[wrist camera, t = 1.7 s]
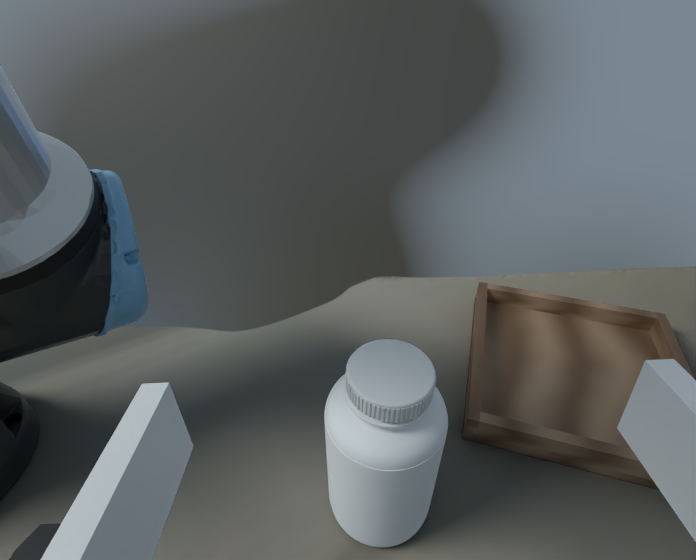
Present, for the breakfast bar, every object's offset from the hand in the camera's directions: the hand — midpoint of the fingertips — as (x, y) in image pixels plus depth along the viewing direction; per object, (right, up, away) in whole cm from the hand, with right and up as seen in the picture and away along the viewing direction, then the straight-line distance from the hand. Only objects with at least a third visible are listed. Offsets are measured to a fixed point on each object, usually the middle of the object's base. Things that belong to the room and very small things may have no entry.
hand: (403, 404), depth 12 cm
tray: (+21, -7, +30) cm, 38 cm away
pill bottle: (+1, -14, +21) cm, 25 cm away
